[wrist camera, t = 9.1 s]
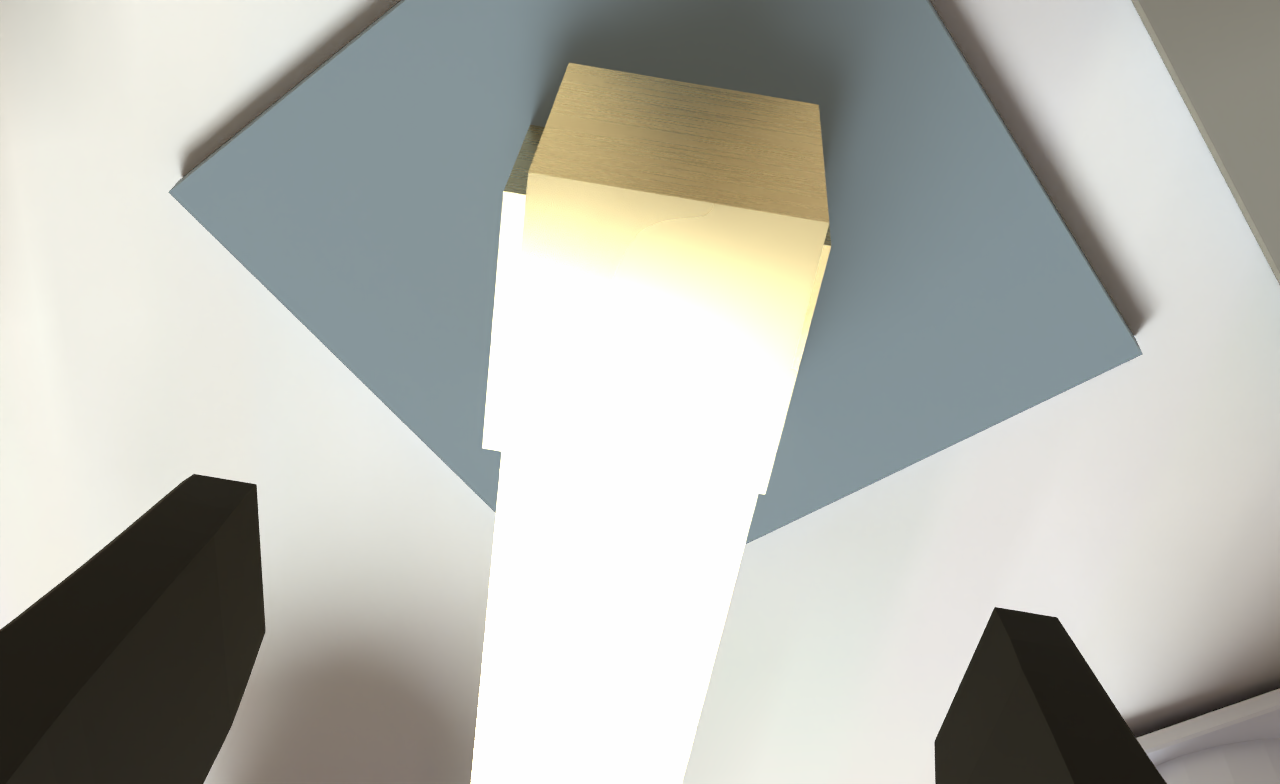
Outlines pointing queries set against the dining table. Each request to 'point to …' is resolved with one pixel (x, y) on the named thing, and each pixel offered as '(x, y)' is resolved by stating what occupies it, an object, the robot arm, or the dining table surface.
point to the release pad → (700, 54)
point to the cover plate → (1230, 95)
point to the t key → (636, 410)
